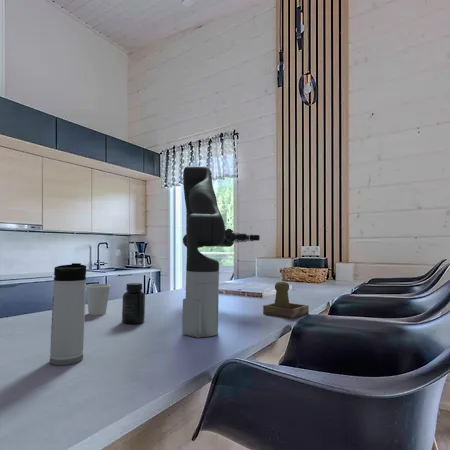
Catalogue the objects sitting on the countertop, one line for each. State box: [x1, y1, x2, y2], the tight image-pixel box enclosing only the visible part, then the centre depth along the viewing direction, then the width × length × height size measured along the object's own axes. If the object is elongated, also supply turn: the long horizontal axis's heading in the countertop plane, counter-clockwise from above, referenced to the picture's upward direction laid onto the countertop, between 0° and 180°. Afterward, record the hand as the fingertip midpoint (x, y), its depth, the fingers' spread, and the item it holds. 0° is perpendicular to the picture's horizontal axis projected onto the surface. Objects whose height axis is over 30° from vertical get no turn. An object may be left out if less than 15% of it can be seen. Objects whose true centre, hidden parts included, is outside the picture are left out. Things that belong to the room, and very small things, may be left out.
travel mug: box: [49, 262, 87, 366], centre depth 71 cm, size 6×7×20 cm
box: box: [262, 302, 310, 320], centre depth 123 cm, size 12×12×3 cm
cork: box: [274, 281, 290, 309], centre depth 123 cm, size 6×6×11 cm
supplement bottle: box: [121, 282, 146, 326], centre depth 107 cm, size 7×7×12 cm
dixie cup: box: [86, 283, 111, 316], centre depth 119 cm, size 8×8×10 cm
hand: (252, 237), depth 131 cm, fingers open, 8 cm apart
